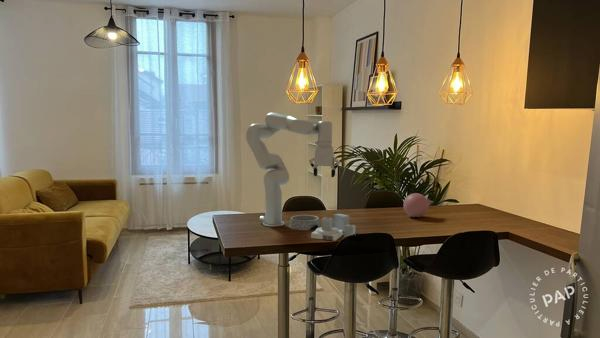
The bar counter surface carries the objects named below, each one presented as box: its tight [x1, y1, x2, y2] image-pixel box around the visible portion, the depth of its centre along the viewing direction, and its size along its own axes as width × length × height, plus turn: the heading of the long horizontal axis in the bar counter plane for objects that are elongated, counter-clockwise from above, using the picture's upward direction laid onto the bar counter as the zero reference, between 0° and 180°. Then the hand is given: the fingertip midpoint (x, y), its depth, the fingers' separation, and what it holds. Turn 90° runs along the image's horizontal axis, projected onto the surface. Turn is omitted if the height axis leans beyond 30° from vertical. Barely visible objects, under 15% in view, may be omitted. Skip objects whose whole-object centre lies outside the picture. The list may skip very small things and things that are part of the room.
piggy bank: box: [402, 192, 434, 218], centre depth 269 cm, size 15×20×15 cm
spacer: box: [343, 223, 356, 238], centre depth 220 cm, size 4×4×6 cm
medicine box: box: [333, 213, 350, 233], centre depth 233 cm, size 8×4×9 cm, turn 43°
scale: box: [310, 226, 344, 242], centre depth 220 cm, size 13×14×4 cm
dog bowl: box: [288, 214, 322, 231], centre depth 242 cm, size 17×18×5 cm
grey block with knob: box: [321, 216, 334, 231], centre depth 220 cm, size 4×4×6 cm
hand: (324, 176), depth 227 cm, fingers open, 9 cm apart
